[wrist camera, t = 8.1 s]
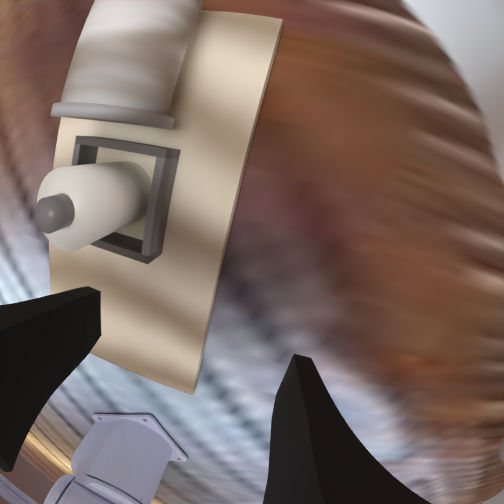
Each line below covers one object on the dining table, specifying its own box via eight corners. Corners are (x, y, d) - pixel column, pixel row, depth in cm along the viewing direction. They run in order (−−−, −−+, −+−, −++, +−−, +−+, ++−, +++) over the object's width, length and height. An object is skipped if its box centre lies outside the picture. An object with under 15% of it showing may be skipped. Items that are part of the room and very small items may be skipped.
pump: (114, 232, 18) (40, 270, 11) (92, 178, 17) (12, 194, 10) (162, 209, 17) (91, 242, 10) (138, 150, 16) (58, 152, 9)
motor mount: (196, 387, 22) (167, 454, 15) (62, 329, 23) (14, 371, 16) (283, 26, 14) (275, -44, 7) (98, 21, 14) (36, -10, 7)
